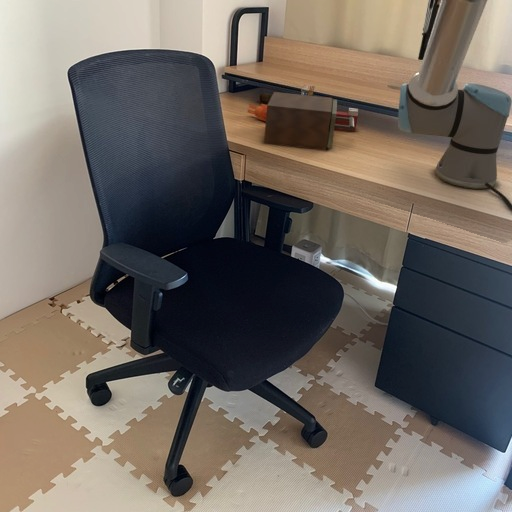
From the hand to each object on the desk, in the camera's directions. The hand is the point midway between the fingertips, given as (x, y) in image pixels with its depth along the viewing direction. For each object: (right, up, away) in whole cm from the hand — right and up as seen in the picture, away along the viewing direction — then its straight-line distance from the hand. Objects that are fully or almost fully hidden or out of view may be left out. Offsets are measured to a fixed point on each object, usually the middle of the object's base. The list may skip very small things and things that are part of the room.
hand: (423, 59), depth 150 cm
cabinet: (-36, -20, +9) cm, 42 cm away
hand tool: (-39, -4, +37) cm, 54 cm away
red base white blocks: (-19, -15, +20) cm, 32 cm away
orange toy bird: (-45, -11, +24) cm, 52 cm away
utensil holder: (-32, -11, +26) cm, 43 cm away
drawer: (-31, -21, +8) cm, 38 cm away
